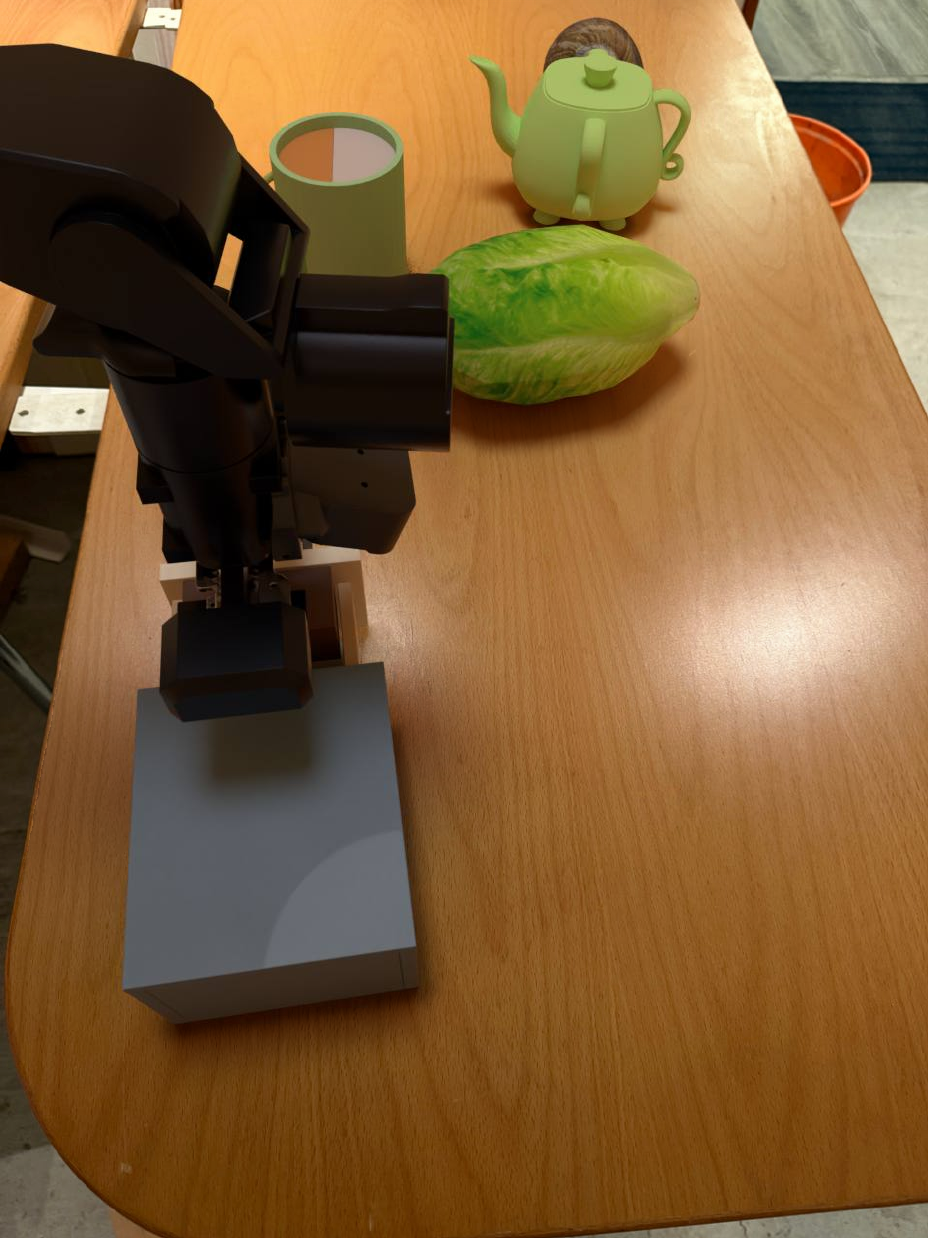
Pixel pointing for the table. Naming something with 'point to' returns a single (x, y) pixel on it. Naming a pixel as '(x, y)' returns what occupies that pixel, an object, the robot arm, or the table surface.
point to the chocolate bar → (318, 607)
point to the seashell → (594, 42)
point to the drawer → (340, 560)
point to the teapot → (587, 138)
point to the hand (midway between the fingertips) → (263, 625)
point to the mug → (344, 191)
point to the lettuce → (560, 311)
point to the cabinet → (268, 855)
